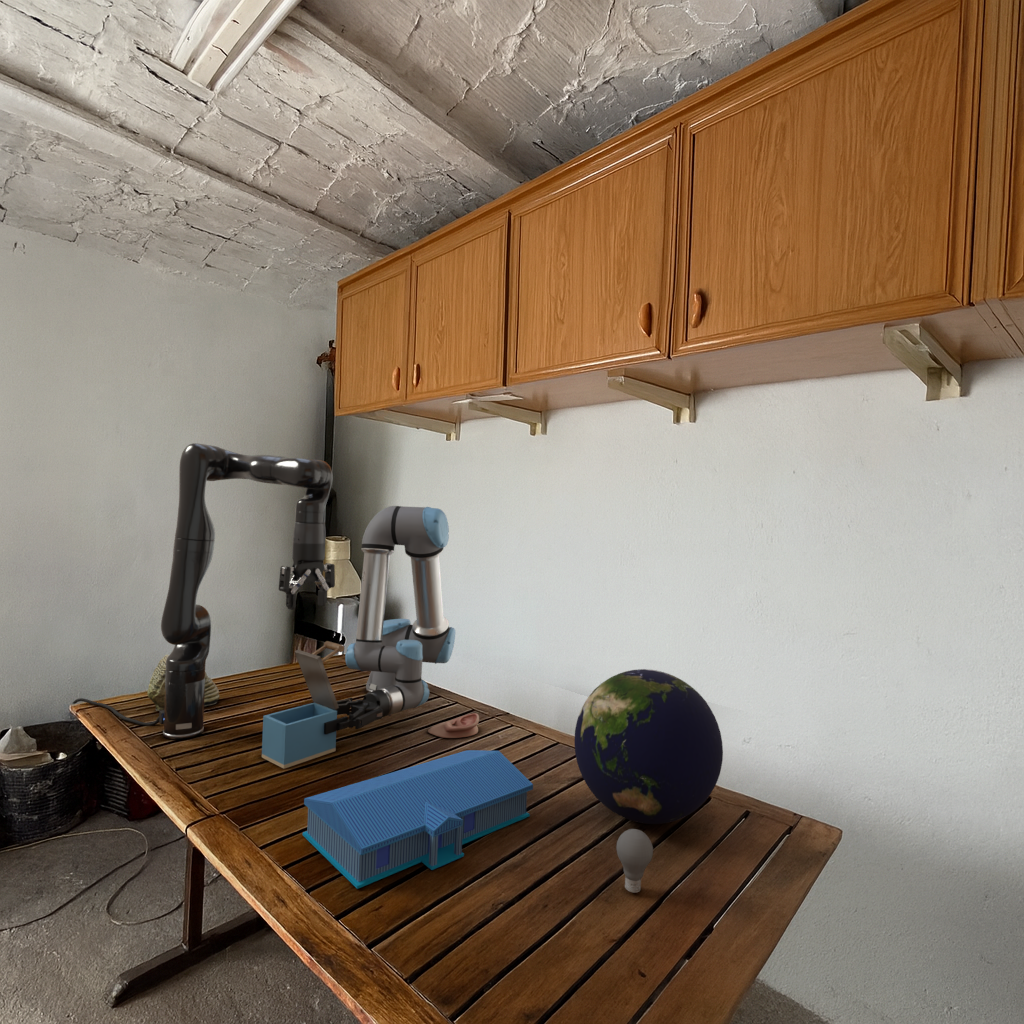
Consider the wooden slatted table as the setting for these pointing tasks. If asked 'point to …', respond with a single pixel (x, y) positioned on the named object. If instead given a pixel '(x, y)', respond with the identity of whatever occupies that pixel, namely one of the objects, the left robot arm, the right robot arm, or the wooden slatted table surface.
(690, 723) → the globe
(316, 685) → the lid
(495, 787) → the model building
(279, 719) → the chest
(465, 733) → the anatomical model
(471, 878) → the wooden slatted table surface
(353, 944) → the wooden slatted table surface
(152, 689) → the fossil
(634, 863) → the light bulb
